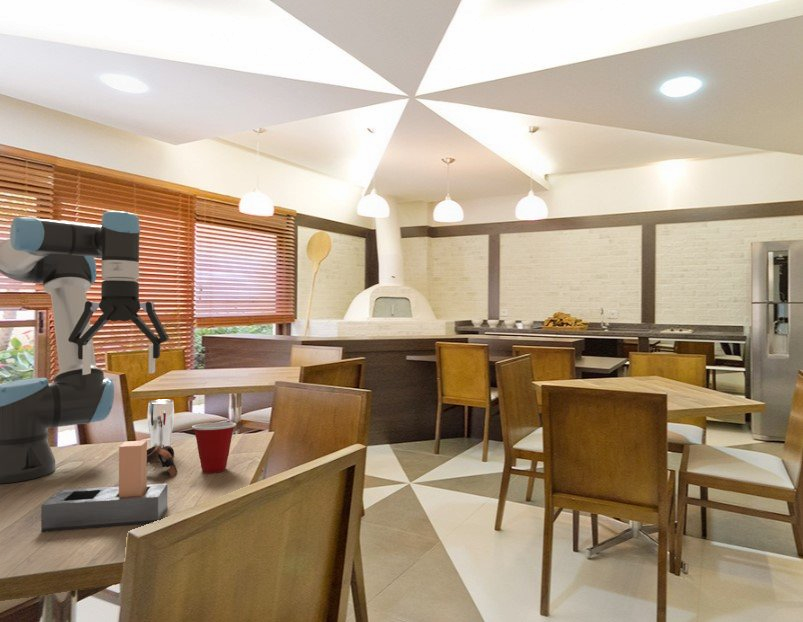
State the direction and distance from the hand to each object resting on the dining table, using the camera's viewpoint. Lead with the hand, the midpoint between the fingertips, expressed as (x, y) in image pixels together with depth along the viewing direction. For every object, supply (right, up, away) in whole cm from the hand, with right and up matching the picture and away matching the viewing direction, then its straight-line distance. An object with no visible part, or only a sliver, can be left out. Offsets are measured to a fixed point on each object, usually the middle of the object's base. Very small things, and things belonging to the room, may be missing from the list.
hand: (119, 373), depth 117 cm
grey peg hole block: (+7, -27, -16) cm, 32 cm away
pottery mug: (+3, -27, +12) cm, 30 cm away
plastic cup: (+16, -27, +16) cm, 35 cm away
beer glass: (-5, -27, +31) cm, 41 cm away
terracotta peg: (+11, -26, -15) cm, 32 cm away
